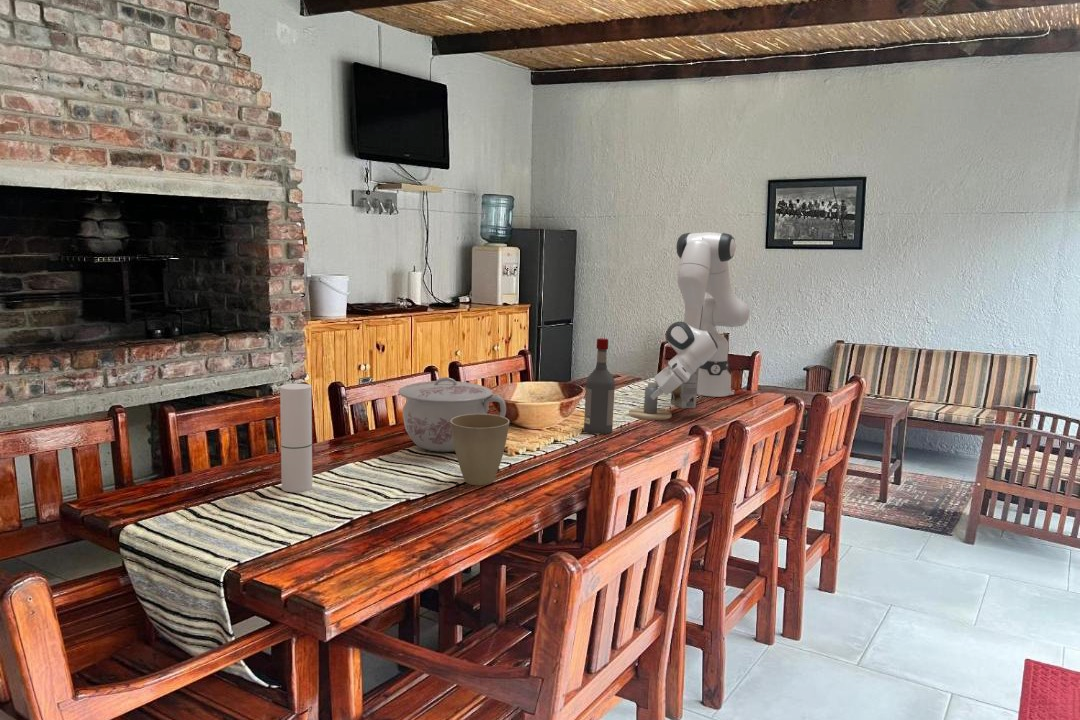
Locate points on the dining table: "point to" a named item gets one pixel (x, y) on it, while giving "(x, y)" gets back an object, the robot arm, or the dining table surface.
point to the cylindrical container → (296, 437)
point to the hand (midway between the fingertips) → (649, 395)
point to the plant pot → (479, 445)
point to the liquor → (599, 395)
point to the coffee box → (686, 392)
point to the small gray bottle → (650, 399)
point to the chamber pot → (442, 409)
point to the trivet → (658, 416)
